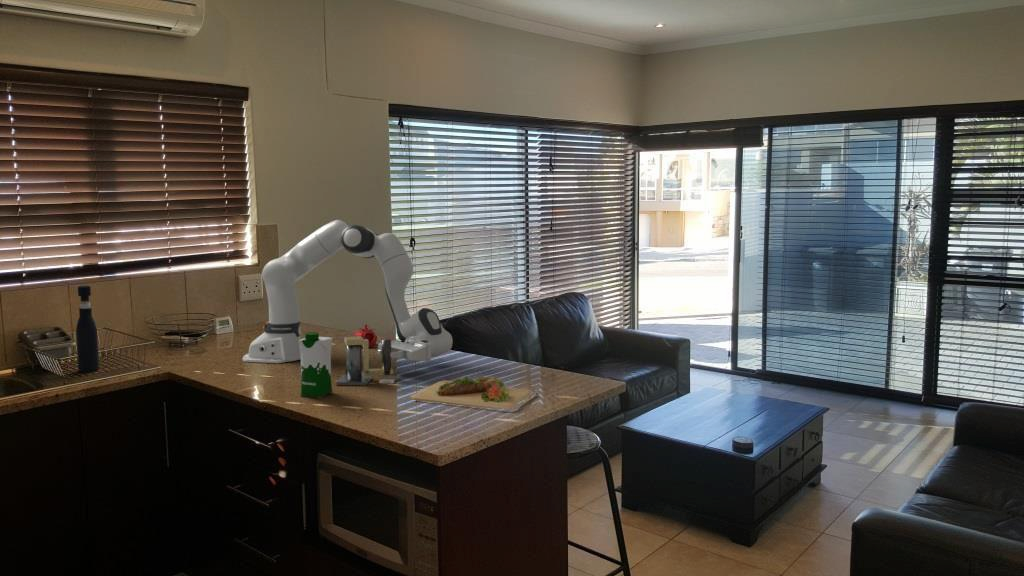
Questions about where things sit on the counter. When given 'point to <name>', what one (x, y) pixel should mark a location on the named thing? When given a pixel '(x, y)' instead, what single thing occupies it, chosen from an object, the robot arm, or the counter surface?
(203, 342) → the counter surface
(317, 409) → the counter surface
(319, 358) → the milk carton
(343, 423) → the counter surface
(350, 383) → the post
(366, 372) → the lever
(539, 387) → the counter surface
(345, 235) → the robot arm
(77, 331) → the dark blue bottle
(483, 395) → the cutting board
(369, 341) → the pomegranate
